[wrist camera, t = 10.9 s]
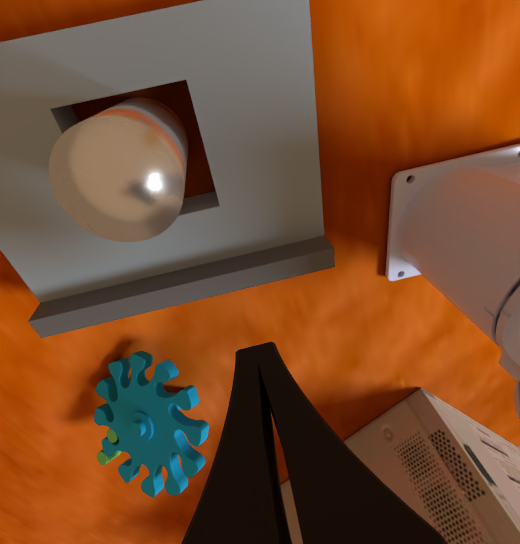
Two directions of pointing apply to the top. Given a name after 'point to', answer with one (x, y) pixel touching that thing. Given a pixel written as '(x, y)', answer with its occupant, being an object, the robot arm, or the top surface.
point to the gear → (150, 424)
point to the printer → (439, 470)
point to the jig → (217, 142)
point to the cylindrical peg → (122, 170)
